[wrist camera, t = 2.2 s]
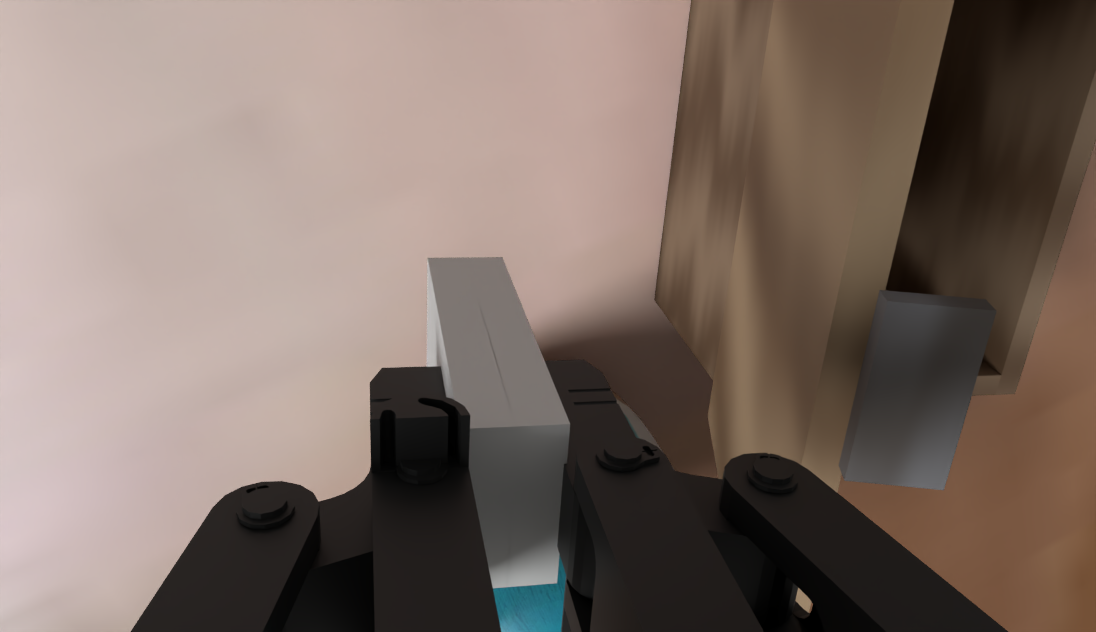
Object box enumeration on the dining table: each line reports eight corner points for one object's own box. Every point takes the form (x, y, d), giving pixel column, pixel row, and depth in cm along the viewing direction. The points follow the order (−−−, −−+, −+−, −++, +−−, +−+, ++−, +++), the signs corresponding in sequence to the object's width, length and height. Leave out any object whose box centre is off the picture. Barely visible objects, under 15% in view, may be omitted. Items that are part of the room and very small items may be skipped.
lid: (879, -87, 24) (788, -93, 24) (1115, -91, 12) (940, -103, 12) (778, 423, 30) (707, 415, 30) (872, 729, 19) (758, 717, 19)
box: (701, -81, 32) (812, -74, 24) (971, -62, 34) (1155, -50, 26) (654, 299, 38) (730, 405, 30) (886, 296, 41) (1015, 393, 33)
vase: (680, 421, 41) (902, 786, 24) (519, 566, 43) (621, 1001, 26) (521, 279, 37) (657, 605, 20) (349, 448, 39) (338, 880, 22)
